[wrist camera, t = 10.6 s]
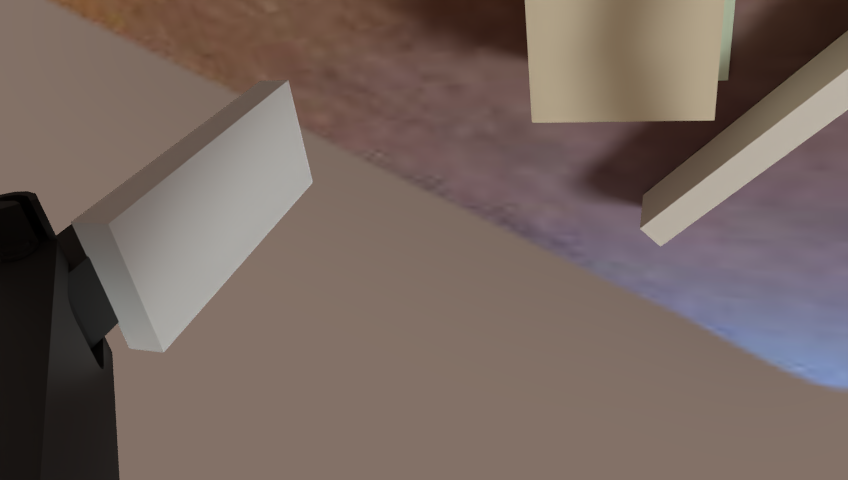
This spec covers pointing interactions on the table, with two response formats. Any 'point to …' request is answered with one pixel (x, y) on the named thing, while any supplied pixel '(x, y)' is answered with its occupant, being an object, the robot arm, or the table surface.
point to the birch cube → (623, 59)
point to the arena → (749, 138)
